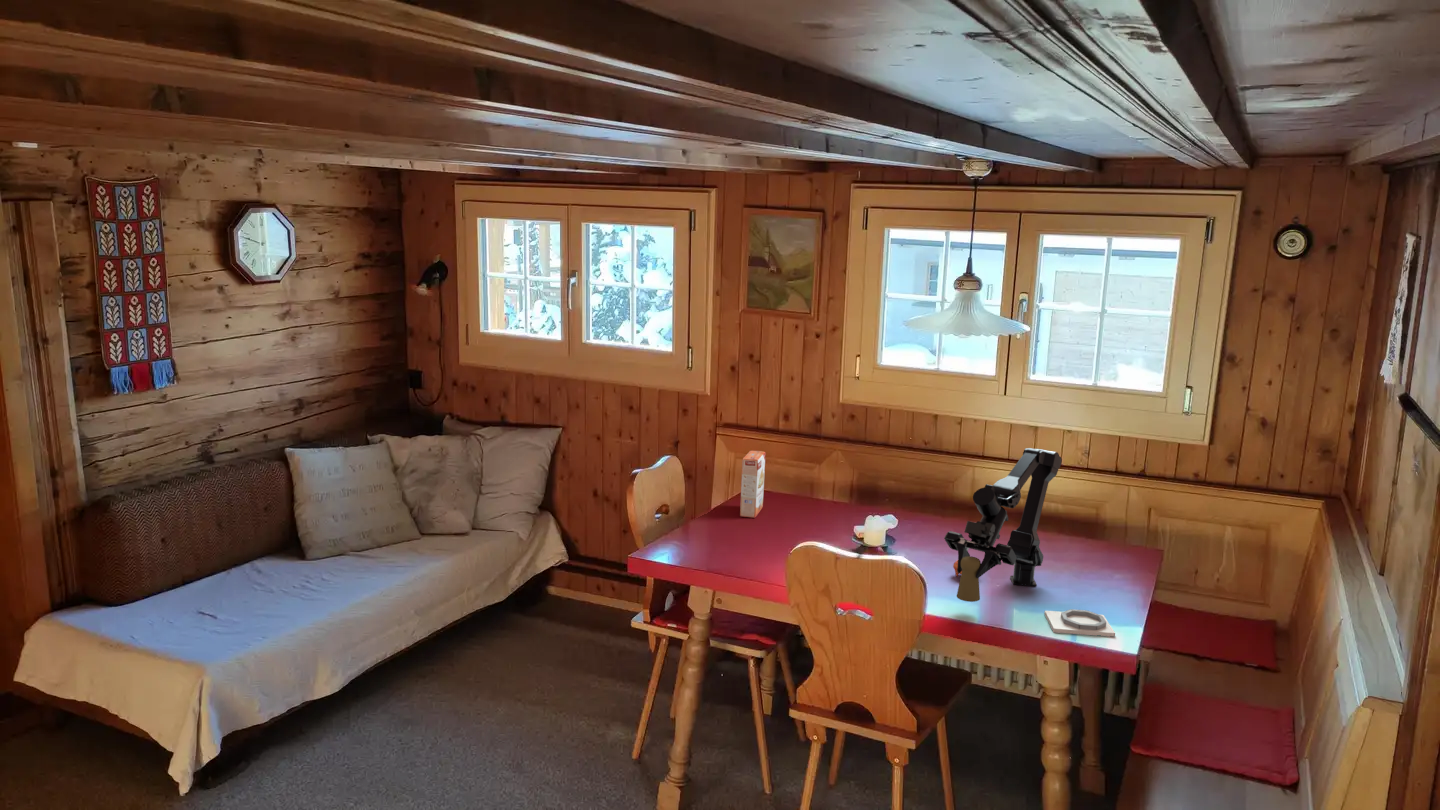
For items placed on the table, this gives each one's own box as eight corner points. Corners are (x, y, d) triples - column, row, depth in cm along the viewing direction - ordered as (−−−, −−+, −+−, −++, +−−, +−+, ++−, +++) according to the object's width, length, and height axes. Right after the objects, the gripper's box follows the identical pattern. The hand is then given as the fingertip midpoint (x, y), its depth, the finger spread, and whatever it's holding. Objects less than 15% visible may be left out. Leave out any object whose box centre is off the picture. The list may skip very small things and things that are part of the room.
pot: (987, 580, 286) (984, 558, 285) (962, 587, 285) (959, 566, 284) (974, 569, 294) (971, 549, 292) (950, 576, 293) (947, 556, 291)
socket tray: (1044, 614, 263) (1045, 606, 262) (1103, 618, 261) (1103, 610, 261) (1053, 632, 251) (1054, 624, 251) (1114, 636, 249) (1115, 628, 249)
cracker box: (756, 518, 341) (758, 459, 337) (739, 517, 342) (741, 458, 338) (764, 507, 354) (766, 450, 351) (747, 506, 356) (749, 449, 352)
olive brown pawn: (978, 603, 258) (981, 563, 256) (955, 599, 260) (957, 559, 258) (981, 595, 263) (984, 555, 261) (958, 591, 266) (961, 552, 263)
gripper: (949, 502, 266) (926, 550, 260) (1014, 517, 254) (991, 568, 248) (962, 523, 273) (939, 571, 268) (1026, 539, 261) (1003, 590, 255)
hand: (967, 574), depth 259 cm, fingers closed on olive brown pawn, 5 cm apart
